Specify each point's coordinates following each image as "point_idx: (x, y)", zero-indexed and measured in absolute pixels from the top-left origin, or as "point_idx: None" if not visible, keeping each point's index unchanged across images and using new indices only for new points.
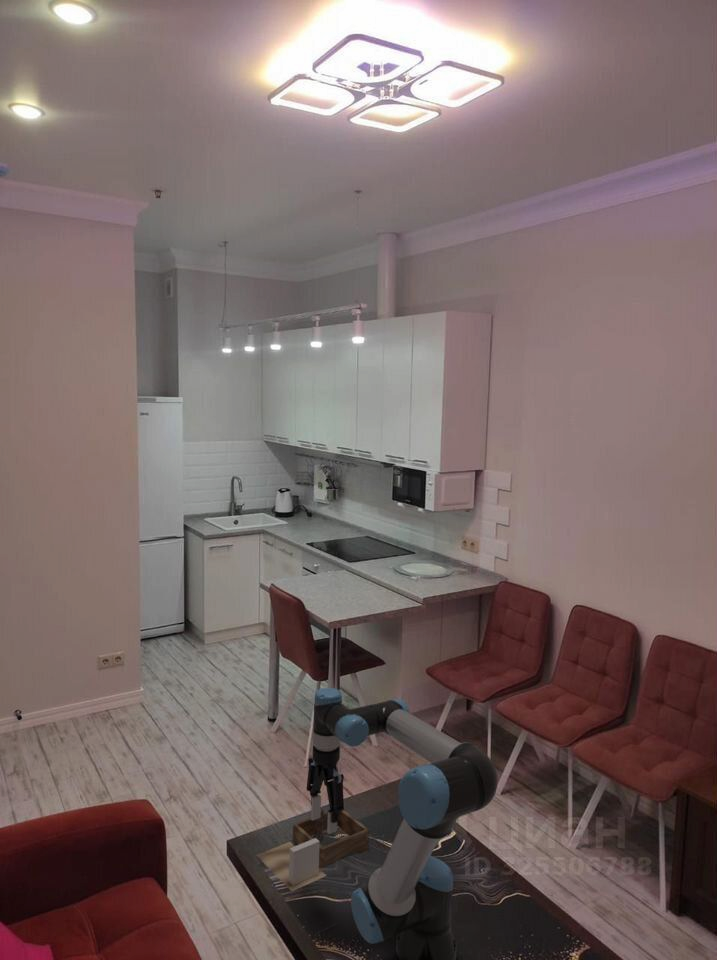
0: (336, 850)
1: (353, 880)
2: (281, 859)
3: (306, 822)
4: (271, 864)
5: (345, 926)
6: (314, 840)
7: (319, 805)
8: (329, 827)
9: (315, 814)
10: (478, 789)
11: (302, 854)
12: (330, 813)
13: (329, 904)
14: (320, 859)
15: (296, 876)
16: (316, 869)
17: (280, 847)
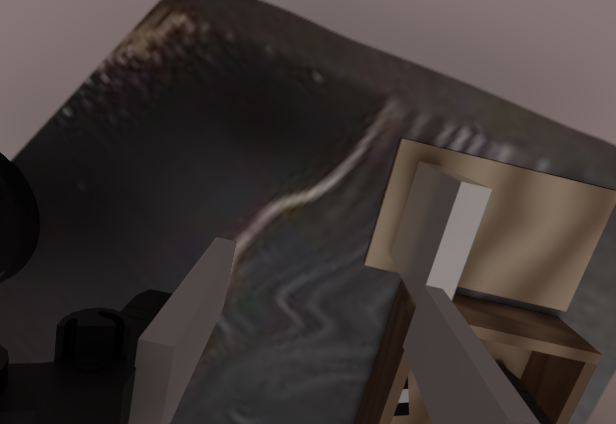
0: (393, 352)
1: (294, 303)
2: (532, 230)
3: (566, 392)
4: (544, 190)
5: (177, 139)
6: None
7: (435, 407)
8: (199, 259)
9: (427, 328)
10: None
11: (436, 220)
12: (148, 333)
13: (277, 179)
14: None
15: (421, 179)
16: (395, 254)
17: (574, 271)
